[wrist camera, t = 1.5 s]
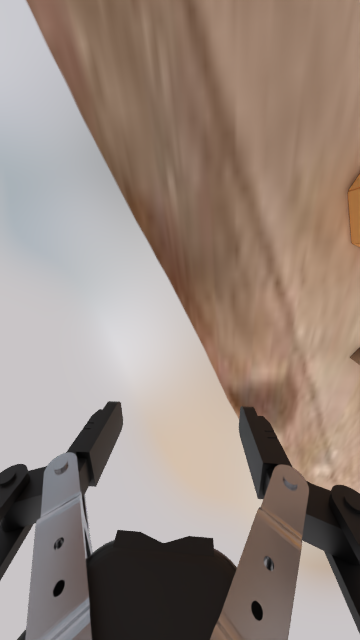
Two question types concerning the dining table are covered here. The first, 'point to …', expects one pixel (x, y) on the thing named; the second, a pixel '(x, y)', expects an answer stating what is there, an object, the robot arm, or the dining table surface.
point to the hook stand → (356, 356)
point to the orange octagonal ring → (355, 211)
